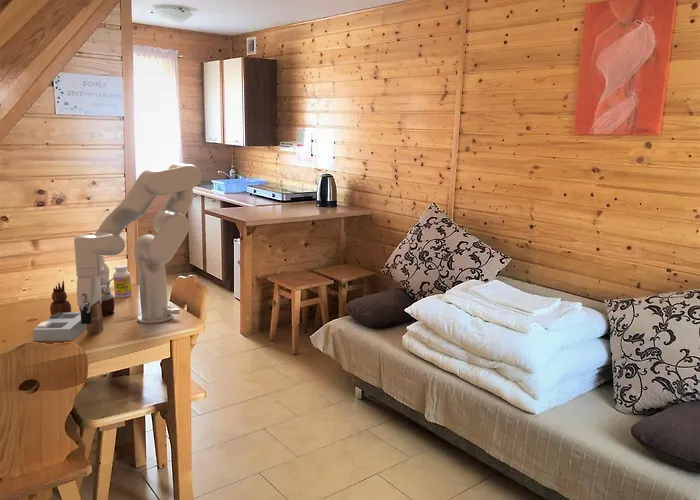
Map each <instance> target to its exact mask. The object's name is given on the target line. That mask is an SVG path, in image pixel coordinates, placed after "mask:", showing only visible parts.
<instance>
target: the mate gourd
mask: <svg viewBox="0 0 700 500" xmlns="http://www.w3.org/2000/svg"><path fill="white" fill-rule="evenodd" d="M112 281H114V278H113V277H112V278H111V279H109V282H108V283H107V289H106V293H102V298H101V300H102V316H103V317H104V318H107V317H108V316H107V315H115V298H114V295H113V293H107V292H108V287H110V284H111V282H112Z"/></svg>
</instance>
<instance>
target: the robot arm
mask: <svg viewBox="0 0 700 500" xmlns="http://www.w3.org/2000/svg"><path fill="white" fill-rule="evenodd" d="M202 177H203V176H202V172H201V170H200V169H199V167H197V166H196V165H194V164H190V163H182V162H177V163H173V164H171V165H170V166H169V167H168V169H162V170H157V169H146V170H144V171H142V172H141V173H140V174H139V176H138V177H137V179H136V181H135V182H134V184H133V185H132V186H131V188H130V190H129V191H128V193H127V194H126V195H125V197H124V198H123V199H122V201H121V202H120V203H119V205H117V206H116V207H115V208H114V209H113V210H112V211H111V212H110V213H109V214H108V215H107V216H106V217H105V219H104V220H103V221H102V222H101V224H100V225H99V227H98V229H97V230H96V232H94V233H95V234H79V235H77V236H75V237H74V241H73V244H74V255H75V256H74V257H75V258H74V259H75V269H76V272H75V273H76V277H77V279H76V280H77V281H76V304H77V306H78V307H79V309H78V310H79V312H80V313H81V324H91V323H92V321H91V312H90V308H91V306H92V305H94V304H95V303H101V310H102V300H101V298H102V290H101V282H100V275H101V268H100V256H117V255H118V256H119V254H121V253H122V252H123V251H124V250H125V247H126V243H125V240H124V238H123V237H122V236H120V235H121V233H122V232H123V231H124V230H125V229H126V227H128V226H129V224H131V223H133V222H134V221H135V222H136V221H137V220H139V219H140V218H142V217H144V216H145V214H146V213H147V211H148V209H149V208H150V207H151V205H152V203H153V202H154V200H155V199H156V197H157V196H164V195H168V197H167V199H166V200H165V202H164V203H163V205H162V207H161V208H160V209H159V211H158V213H157V214H156V215H155V217H154V218H153V221H152V227H153V230H154V231H155V232H156V235H154V234H148V233H147V234H143V235H141V236H139V237H137V239H136V241H135V243H134V246H133V251H134V252H133V253H134V257H135V258H134V259H135V262H136V266H137V267H136V268H137V276H138V287H139V288H138V289H139V300H140V301H139V302H140V311H141V312H140V313H141V314H138V316H137V322H139V323H141V324H147V325H148V324H150V325H151V324H161V323H164V322H168V321H170V320H171V319H173V318H174V315H180V314H181V310H180V309H179V308H178V307H173V308H172V307H171V304H169V302H168V301H169V300H168V288H167V273H166V266H165V264H167V263H169V262H170V261H171V260H172V259H173V257H174V256H175V254H176V253H177V251H178V250H179V248H180V247H181V245H182V243H183V242H184V240H185V239H186V237H187V235H188V233H189V230H190V221H189V219H188V218H187V216H186V215H187V214H188V211H189V210H190V208H191V206H192V203H193V199H194V189H193V188H196V187H197V186H199V184H200V182H201V181H202ZM88 303H89V304H88ZM86 307H87V308H86Z"/></svg>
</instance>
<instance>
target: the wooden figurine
mask: <svg viewBox="0 0 700 500" xmlns="http://www.w3.org/2000/svg"><path fill="white" fill-rule="evenodd" d="M67 297H68V295H67V291H65V281H64V280H62V284H60V282H58V285H57V284H56V285H55V287H53V290H52V293H51V299H52V301H51V303H50V306H49V310H50V311H49V312H50V316H52V315H53V314H54V313H65V312H72V305H71V303H70V301H68V298H67Z"/></svg>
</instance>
